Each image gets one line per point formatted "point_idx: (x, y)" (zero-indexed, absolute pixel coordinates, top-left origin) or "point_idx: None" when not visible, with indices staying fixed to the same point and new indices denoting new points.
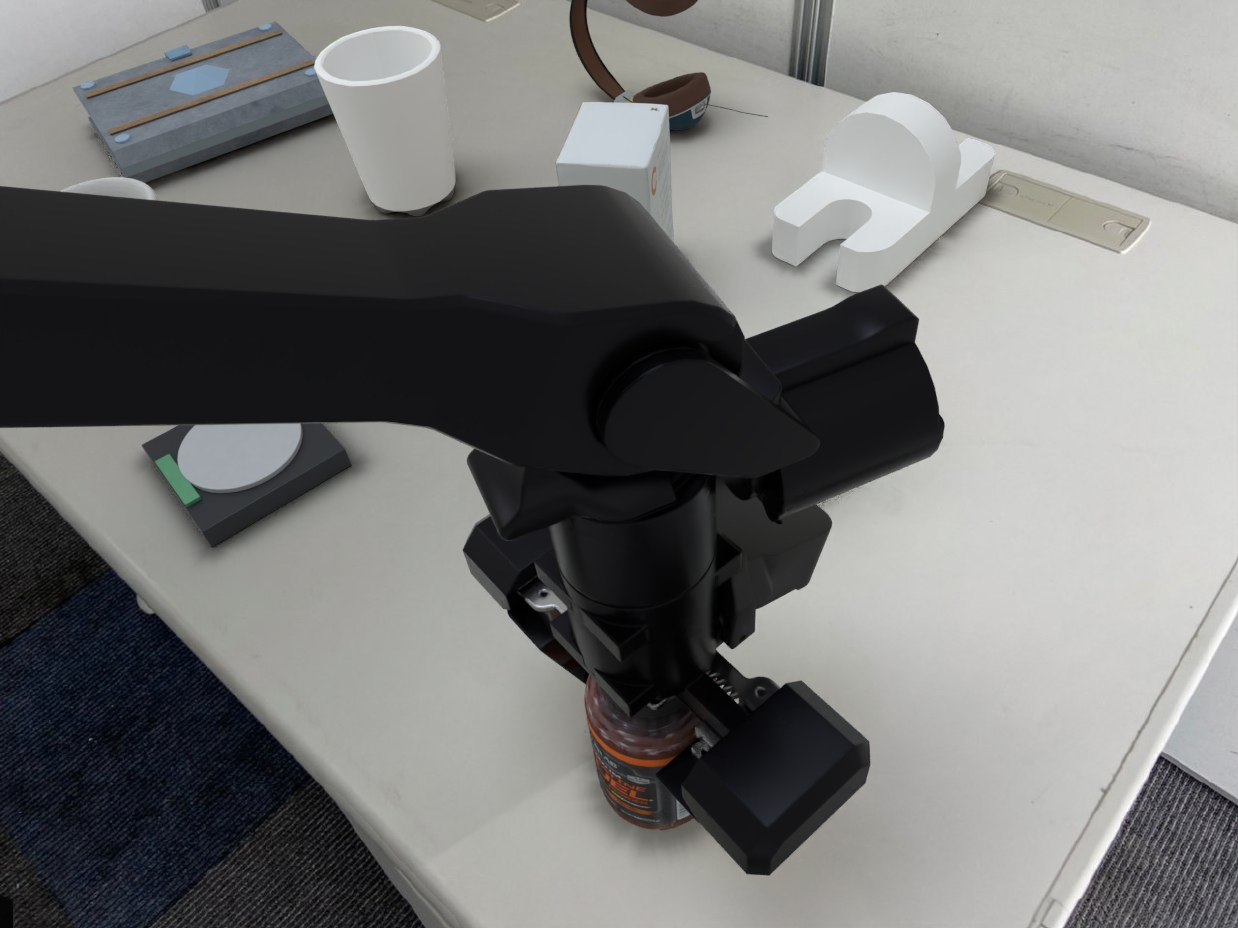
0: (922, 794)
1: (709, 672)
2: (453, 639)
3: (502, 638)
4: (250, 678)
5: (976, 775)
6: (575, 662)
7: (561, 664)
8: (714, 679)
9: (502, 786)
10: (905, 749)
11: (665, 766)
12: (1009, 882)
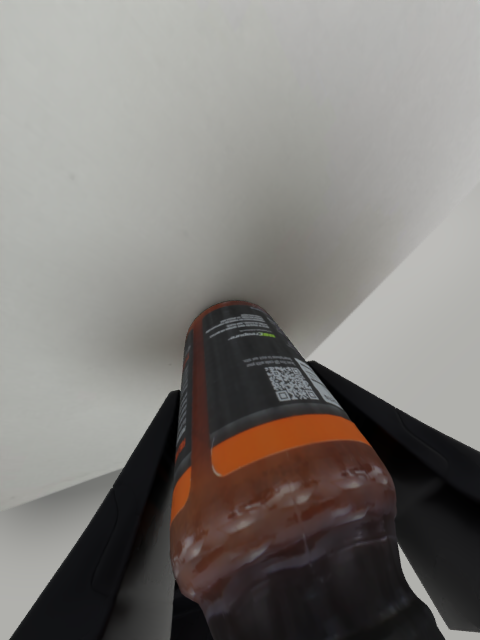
0: (396, 156)
1: (367, 501)
2: (32, 417)
3: (43, 390)
4: (34, 497)
5: (442, 71)
6: (170, 575)
7: (172, 610)
8: (371, 481)
9: None
10: (367, 121)
11: (461, 630)
12: (474, 161)
